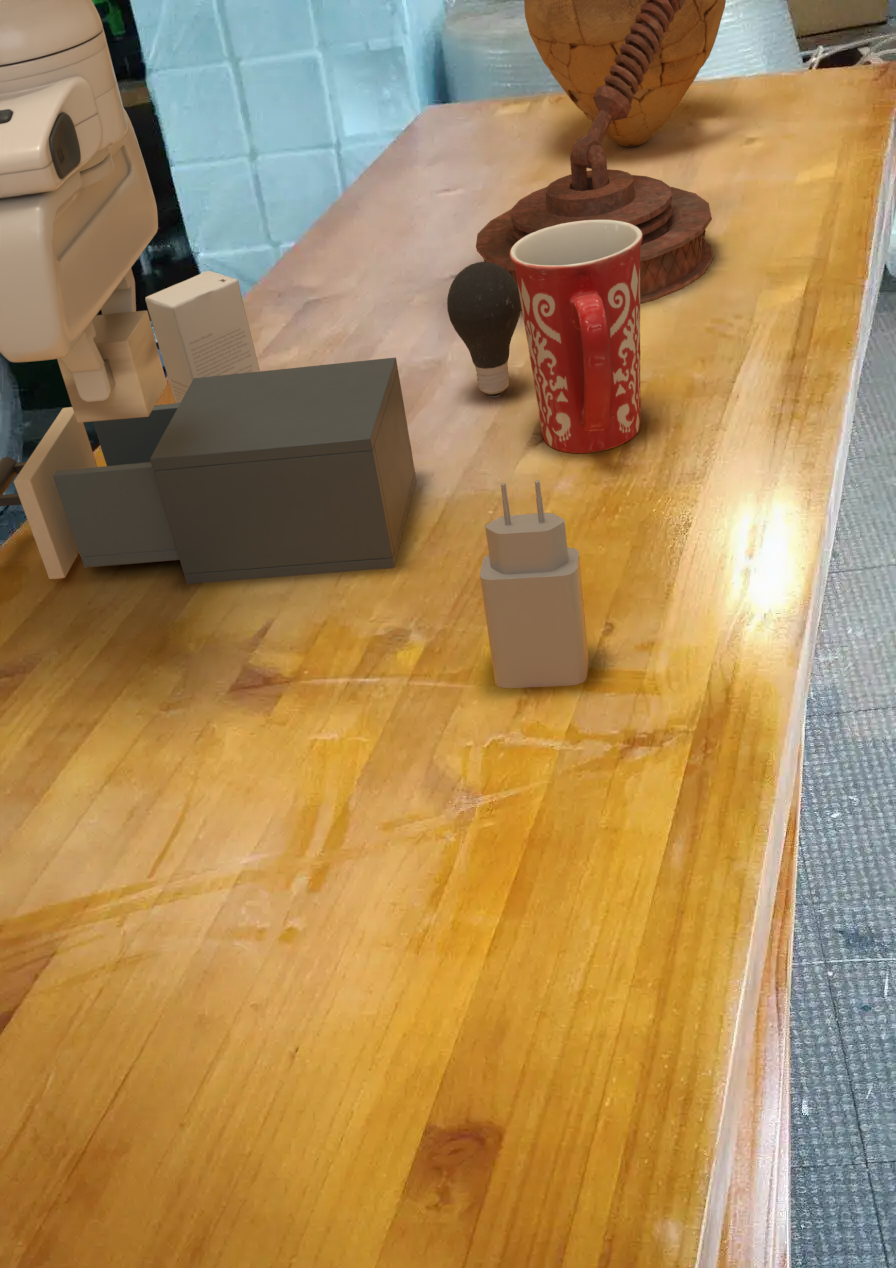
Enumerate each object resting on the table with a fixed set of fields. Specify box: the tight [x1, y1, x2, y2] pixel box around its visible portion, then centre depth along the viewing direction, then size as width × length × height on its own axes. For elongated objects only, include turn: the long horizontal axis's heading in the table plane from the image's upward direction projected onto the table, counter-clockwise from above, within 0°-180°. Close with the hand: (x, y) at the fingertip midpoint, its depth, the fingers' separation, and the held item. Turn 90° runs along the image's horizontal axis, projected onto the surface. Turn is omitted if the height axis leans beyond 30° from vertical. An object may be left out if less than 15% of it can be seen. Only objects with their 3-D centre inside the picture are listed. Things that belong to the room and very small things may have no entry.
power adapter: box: [479, 479, 590, 689], centre depth 82 cm, size 3×5×12 cm, turn 82°
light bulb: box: [446, 261, 522, 398], centre depth 112 cm, size 6×6×10 cm
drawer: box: [0, 402, 180, 580], centre depth 103 cm, size 18×11×7 cm, turn 84°
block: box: [56, 310, 168, 423], centre depth 85 cm, size 4×4×4 cm
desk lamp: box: [475, 0, 714, 312], centre depth 118 cm, size 21×32×40 cm, turn 132°
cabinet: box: [150, 357, 417, 585], centre depth 101 cm, size 15×13×9 cm
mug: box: [510, 220, 643, 454], centre depth 103 cm, size 13×9×14 cm
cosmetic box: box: [144, 270, 261, 403], centre depth 113 cm, size 6×4×12 cm
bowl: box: [523, 0, 727, 148], centre depth 151 cm, size 21×20×20 cm
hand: (113, 375), depth 85 cm, fingers closed on block, 4 cm apart
